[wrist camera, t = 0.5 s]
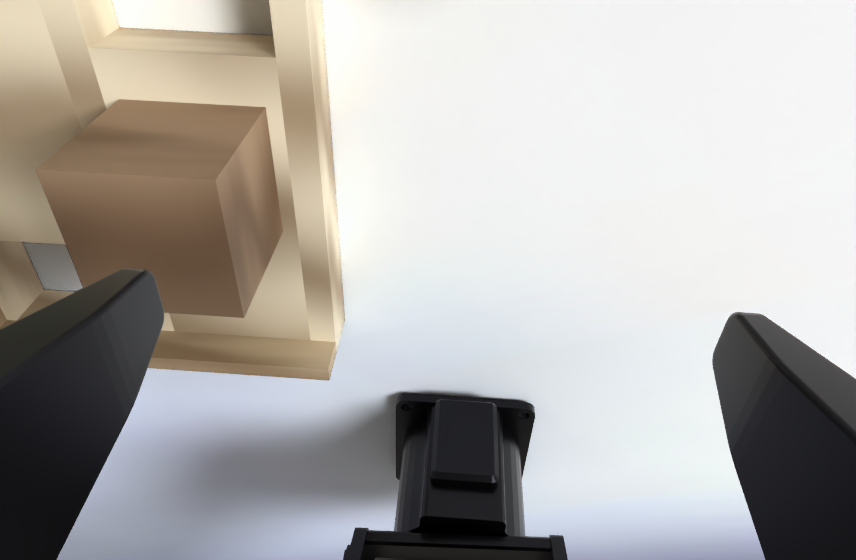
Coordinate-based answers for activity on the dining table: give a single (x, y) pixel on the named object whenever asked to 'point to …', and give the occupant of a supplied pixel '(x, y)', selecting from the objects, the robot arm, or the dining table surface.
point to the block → (171, 200)
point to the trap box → (186, 83)
